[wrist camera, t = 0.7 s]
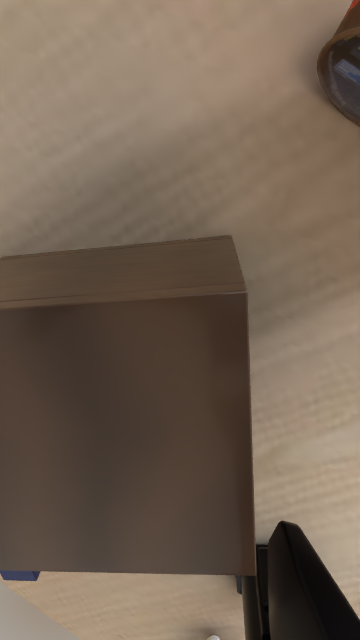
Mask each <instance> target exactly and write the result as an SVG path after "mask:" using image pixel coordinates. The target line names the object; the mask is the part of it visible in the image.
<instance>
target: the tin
mask: <svg viewBox="0 0 360 640" xmlns="http://www.w3.org/2000/svg"><path fill="white" fill-rule="evenodd" d="M317 72H318V76H319V79H320V82H321V85H322V87H323V89H324V90H325V92H326V94H327V95H328V97H329V98H330V100H331V101H332V102H333V103H334V105H335V106H336V107H337V108H338V109H339V110H340V111H341V112H342V113H343V114H345V115H346V116H347V117H348V118H349V119H351V120H352V121H353V122H355V123H356V124H357V125H358V126H360V0H354V1H353V2H352V4H351V6H350V8H349V9H348V11H347V13H346V15H345V17H344V19H343V20H342V22H341V24H340V26H339V28H338V29H337V31H336V33H335V34H334V36H333V38H332V39H331V40H330V41H329V42H328V43H327V44H326V45H325V46H324V47H323V49H322V51H321V52H320V55H319V57H318V61H317Z"/></svg>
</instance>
